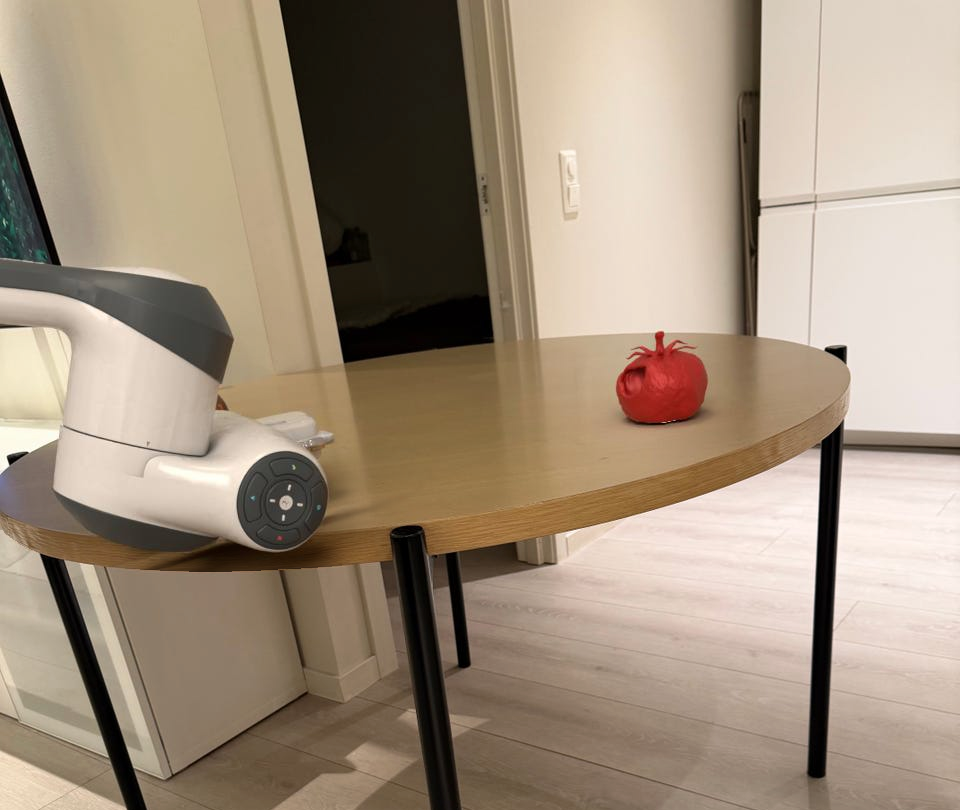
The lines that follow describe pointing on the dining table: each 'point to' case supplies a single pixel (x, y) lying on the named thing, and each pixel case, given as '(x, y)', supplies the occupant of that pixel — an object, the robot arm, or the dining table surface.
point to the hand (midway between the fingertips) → (188, 443)
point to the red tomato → (662, 384)
